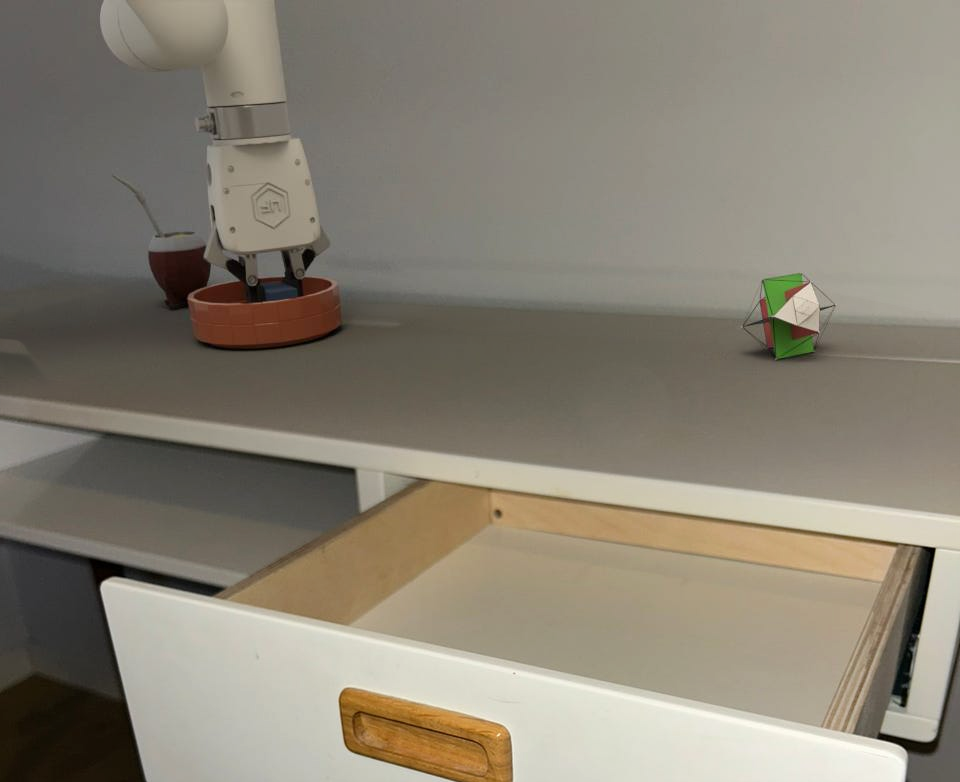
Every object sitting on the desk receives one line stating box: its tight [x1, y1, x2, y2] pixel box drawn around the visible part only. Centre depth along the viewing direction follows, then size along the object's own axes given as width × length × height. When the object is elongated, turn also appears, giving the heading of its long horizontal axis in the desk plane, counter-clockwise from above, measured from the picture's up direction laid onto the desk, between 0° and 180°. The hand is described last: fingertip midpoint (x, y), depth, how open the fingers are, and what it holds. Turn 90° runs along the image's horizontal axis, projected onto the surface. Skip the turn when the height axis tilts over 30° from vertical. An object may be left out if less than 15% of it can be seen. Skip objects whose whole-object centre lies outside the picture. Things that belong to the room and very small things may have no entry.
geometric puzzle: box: [740, 271, 838, 361], centre depth 91 cm, size 7×7×8 cm
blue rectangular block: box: [260, 281, 298, 302], centre depth 111 cm, size 3×6×4 cm, turn 29°
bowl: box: [187, 275, 343, 350], centre depth 111 cm, size 15×15×4 cm
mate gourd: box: [111, 173, 212, 311], centre depth 125 cm, size 8×8×15 cm
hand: (278, 318), depth 112 cm, fingers closed on blue rectangular block, 3 cm apart
